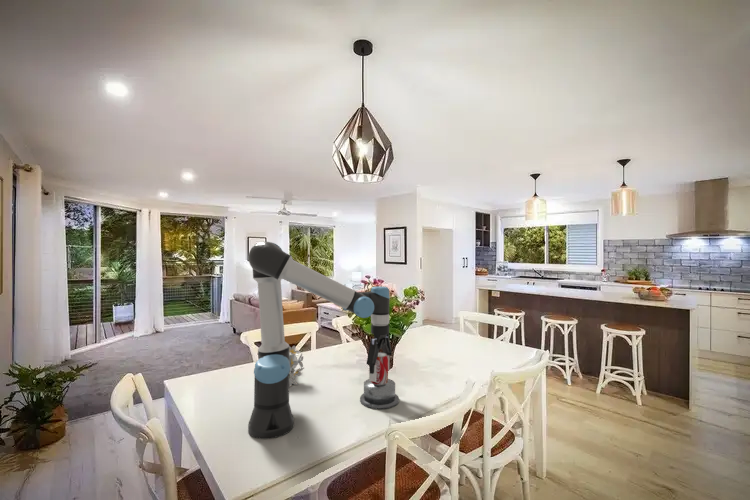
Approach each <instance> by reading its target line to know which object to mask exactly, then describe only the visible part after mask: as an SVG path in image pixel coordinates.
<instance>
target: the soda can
mask: <svg viewBox="0 0 750 500" xmlns="http://www.w3.org/2000/svg"><path fill="white" fill-rule="evenodd" d="M375 365H376V382H373V381H371V382H372V383H373V384H374V385H377V386H382V385H385V384H386V383H387V381H388V379H389V371H388V357H387V354H386V353H383V351H382V352H380V351H379V353H378V356H377V360H376V363H375Z"/></svg>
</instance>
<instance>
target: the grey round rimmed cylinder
mask: <svg viewBox="0 0 750 500" xmlns="http://www.w3.org/2000/svg"><path fill="white" fill-rule="evenodd" d="M399 401H400V398H399V396H398V394H396V382H395V381H394V380H393V379H390V378H388V381H387V383H386V384H385V385H382V386H377V385H374V384H373V383H372V382H371V381H369V378H368V379H366V380H365V381H364V382H363V393H362V394H361V395H360V396H359V402H360V404H361V405H363V407H365V408H368V409H373V410H387V409H392V408H394V407H396V406H397V405H398V404H399V403H400V402H399Z"/></svg>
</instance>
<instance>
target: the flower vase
mask: <svg viewBox="0 0 750 500" xmlns="http://www.w3.org/2000/svg"><path fill="white" fill-rule="evenodd" d="M289 352H290V358H291V366H290V377H289V388H291V387H292V386H293V385H297V386H298V385H299V383H297V382H296V380H295V379H296V377H300V376H301V375H302V373H301V372H302V371H303V370H304V369H305V367H304V365H303V360H304V356H303V352H301V350H297V346H296V345H292V347H291V346H290V345H289ZM299 354H300V356H299ZM298 365H299V368H297V366H298ZM292 371H293V372H292ZM291 378H292V379H291Z"/></svg>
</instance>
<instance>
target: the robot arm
mask: <svg viewBox="0 0 750 500" xmlns="http://www.w3.org/2000/svg"><path fill="white" fill-rule="evenodd" d="M248 262H249V263H248V264H249V265H250V267H251V269H252V279H253V280H254V281H255V282H257V294H258V308H259V309H258V311H259V322H260V323H259V325H260V337H261V344H260V346H259V347H258V348H257V358H258V359H257V361H256V362H255V365H254V369H253V374H254V380H253V381H254V383H253V384H254V385H253V386H254V387H253V388H254V389H253V390H254V391H253V392H254V394H253V395H254V396H253V397H254V398H253V410H252V412H251V415H250V418H249V420H248V425H247V426H248V427H247V428H248V429H247V431H248V434H249V435H250V436H251V437H253V438H257V439H263V440H267V439H274V438H275V439H276V438H278V437H282V436H285V435H286V434H288V433H289V432H290V431H292V430H293V428H294V426H295V417H294V415H293V412H292V409H291V405H290V387H289V377H290V378H291V374H290V366H291V358H290V352H289V346H290V344H289V343H288V342H286V341H285V338H286V337H285V326H284V325H285V323H284V311H283V310H284V308H283V307H284V306H283V295H282V282H281V281H282V280H284V281H287V282H289V283H291V284H293V285H295V286H297V287H299V288H301V289H303V290H305V291H308V292H309V293H311V294H313V295H316V296H317V297H320V298H322V299H324V300H326V301H328V302H330V303H332V304H334V305H336V306H338V307H341V308H342V310H343V311H346V312H347V311H348V312H351V313H353V314H355V316H357V317H359V318H362V319H366V318H369V317H370V320H371V321H370V323H371V325H370V332H371V334H372V335H373V337H374V338H370V340H369V341H370V342H369V349H368V353H367V359H366V365H367V366H368V367H369V368H368V369H369V371H368V372H369V373H368V374H369V375H368V376H369V377H368V379H369V381H373V382H376V365H375V363H376V360H377V356H378V353H379V352H380V350H382V352H383V353H386V354H387V357H388V372H389V371H390V356H392V354H393V353H392V350H393V349H392V346H391V340H390V325H389V324H390V299H391V297H390V289H389V287H386V286H382V285H381V286H377V285H376V286H372V287H371V289H370V291H355V290H354V289H353V288H351V287H348V286H346V285H345V284H342V283H340V282H338V281H336V280H334V279H332V278H331V277H328V276H326V275H324V274H322V273H320V272H318V271H316V270H314V269H313V268H310V267H309V266H306V265H304V264H302V263H300V262H298V261H296V260H294V259H293V256H292V255H291V254H289V253H287V252H285V251H284V250H283V249H282V248H281V247H280V246H279V245H278V244H277V243H275V242H271V241H259V242H258V243H255V244H254V245H253V246H252V247H251V248H250V250H249V253H248Z"/></svg>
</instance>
